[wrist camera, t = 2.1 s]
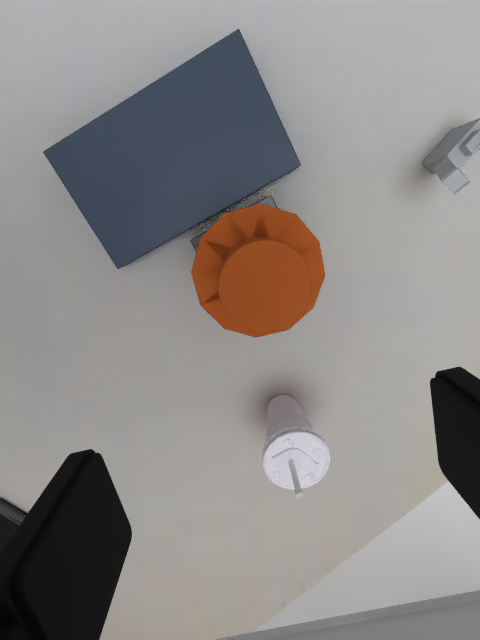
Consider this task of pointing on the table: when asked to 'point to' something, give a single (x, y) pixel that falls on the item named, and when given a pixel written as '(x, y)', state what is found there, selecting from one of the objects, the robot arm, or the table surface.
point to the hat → (258, 270)
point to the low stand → (175, 152)
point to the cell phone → (8, 522)
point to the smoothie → (293, 447)
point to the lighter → (454, 155)
